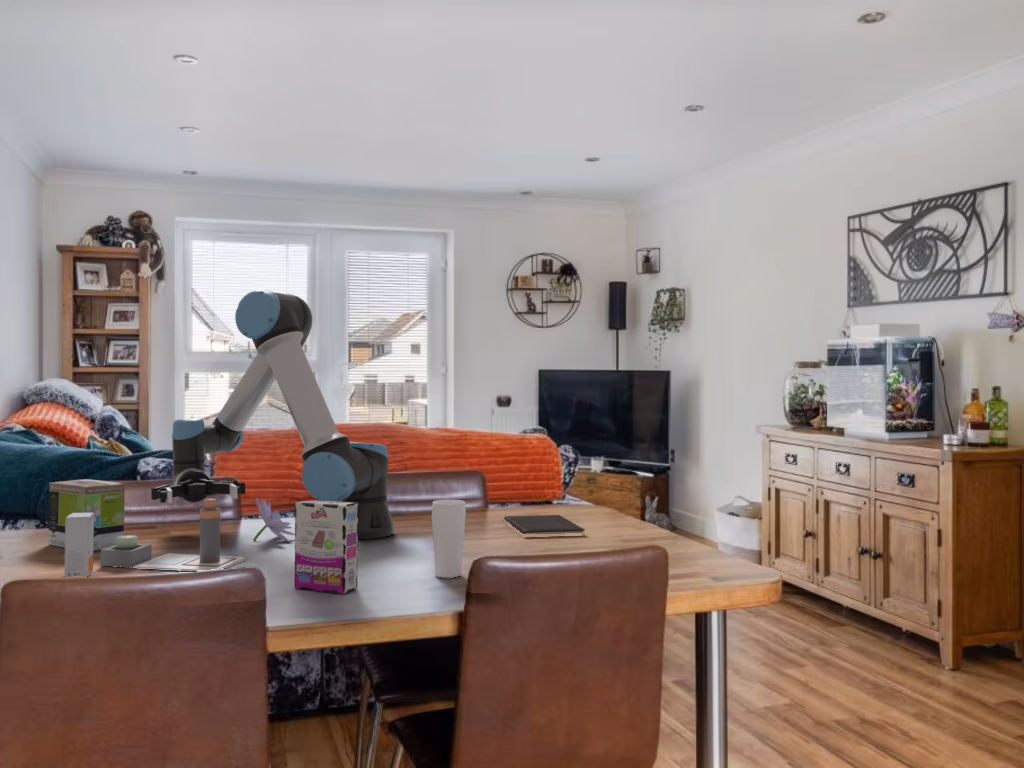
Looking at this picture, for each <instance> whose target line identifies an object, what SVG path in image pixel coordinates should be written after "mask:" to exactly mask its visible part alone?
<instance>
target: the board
mask: <svg viewBox="0 0 1024 768" xmlns="http://www.w3.org/2000/svg"><path fill="white" fill-rule="evenodd" d="M245 560H246V556H232V555H230V556H229V555H220V561H219V562H216V563H200V554H191V553H189V554H188V553H172V552H171V553H170V552H169V553H165V554H162V555H160V556H157V557H154V558H152V559H151V560H148V561H145V562H143V563H140V564H137V565H135V566H133V567H137V568H154V569H181V571H197V570H211V569H221V568H226V569H229V568H230V567H232V566H235V565H237V564H240V563H241V562H243V561H245Z"/></svg>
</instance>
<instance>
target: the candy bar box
mask: <svg viewBox="0 0 1024 768" xmlns="http://www.w3.org/2000/svg"><path fill="white" fill-rule="evenodd" d="M294 515H295V516H294V534H295V535H294V589H296V590H301V591H302V590H303V591H312V592H321V593H331V594H341V595H344V594H347V593H350V592H353V591H355V590H357V589H358V554H359V553H358V549H359V548H358V547H359V545H358V542H359V541H358V540H359V539H358V503H351V502H340V501H321V500H318V499H308V500H307V499H306V500H301V501H297V502H295V505H294Z"/></svg>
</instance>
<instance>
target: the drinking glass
mask: <svg viewBox="0 0 1024 768" xmlns="http://www.w3.org/2000/svg"><path fill="white" fill-rule="evenodd" d="M431 506H432V507H431V528H432V529H431V530H432V540H433V541H432V542H433V544H432V545H433V559H434V575H435V576H436V577H437V578H440V577H441V578H440V579H455V578H454V577H456V578H459V577H460V576H461V575H462V563H463V553H464V552H463V551H464V539H465V529H466V521H467V520H466V517H467V515H466V513H467V511H466V501H464V500H460V499H437V500H434V501H432V504H431ZM458 576H459V577H458Z"/></svg>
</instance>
